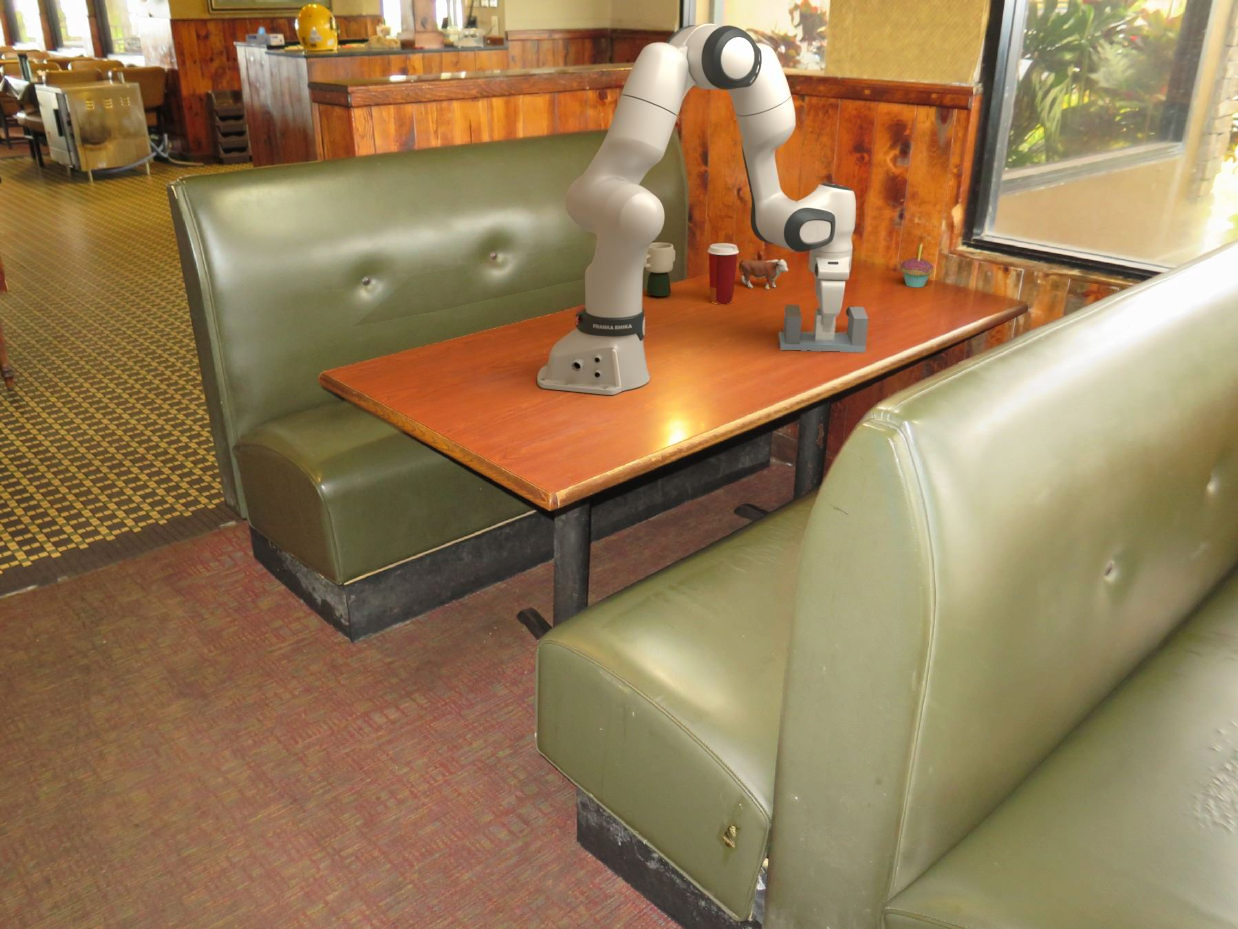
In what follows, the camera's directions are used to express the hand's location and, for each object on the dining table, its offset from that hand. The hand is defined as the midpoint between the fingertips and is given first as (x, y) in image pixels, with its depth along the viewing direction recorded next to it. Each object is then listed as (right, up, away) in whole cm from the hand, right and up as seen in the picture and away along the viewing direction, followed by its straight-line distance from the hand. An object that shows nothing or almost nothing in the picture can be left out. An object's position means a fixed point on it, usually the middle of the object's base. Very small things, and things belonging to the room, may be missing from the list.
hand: (824, 324), depth 218 cm
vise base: (0, -2, +6) cm, 6 cm away
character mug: (-35, +13, +40) cm, 54 cm away
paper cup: (-19, +11, +34) cm, 41 cm away
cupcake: (+34, +17, +48) cm, 61 cm away
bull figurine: (-7, +16, +46) cm, 49 cm away
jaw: (-7, -2, +2) cm, 8 cm away
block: (0, -3, +1) cm, 3 cm away
